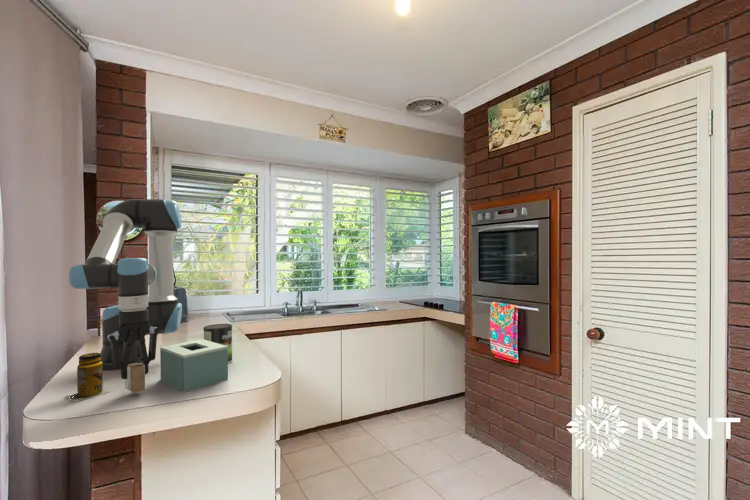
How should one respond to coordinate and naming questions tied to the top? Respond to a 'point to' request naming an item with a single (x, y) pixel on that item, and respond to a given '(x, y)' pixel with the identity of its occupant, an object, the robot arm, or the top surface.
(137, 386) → the tan upright block
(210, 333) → the coffee can
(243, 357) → the top surface
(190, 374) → the teal box with hole
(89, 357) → the condiment
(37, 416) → the top surface
